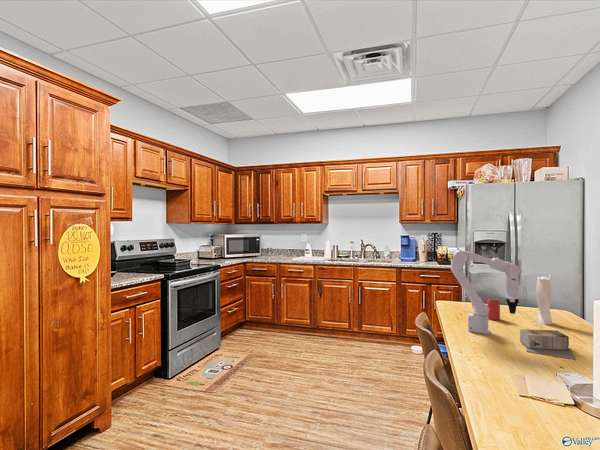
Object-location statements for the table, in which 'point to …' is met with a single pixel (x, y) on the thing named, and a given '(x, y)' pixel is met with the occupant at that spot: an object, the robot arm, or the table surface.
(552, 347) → the coffee box
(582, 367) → the table surface
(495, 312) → the beer can
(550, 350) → the mat
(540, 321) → the skyscraper
